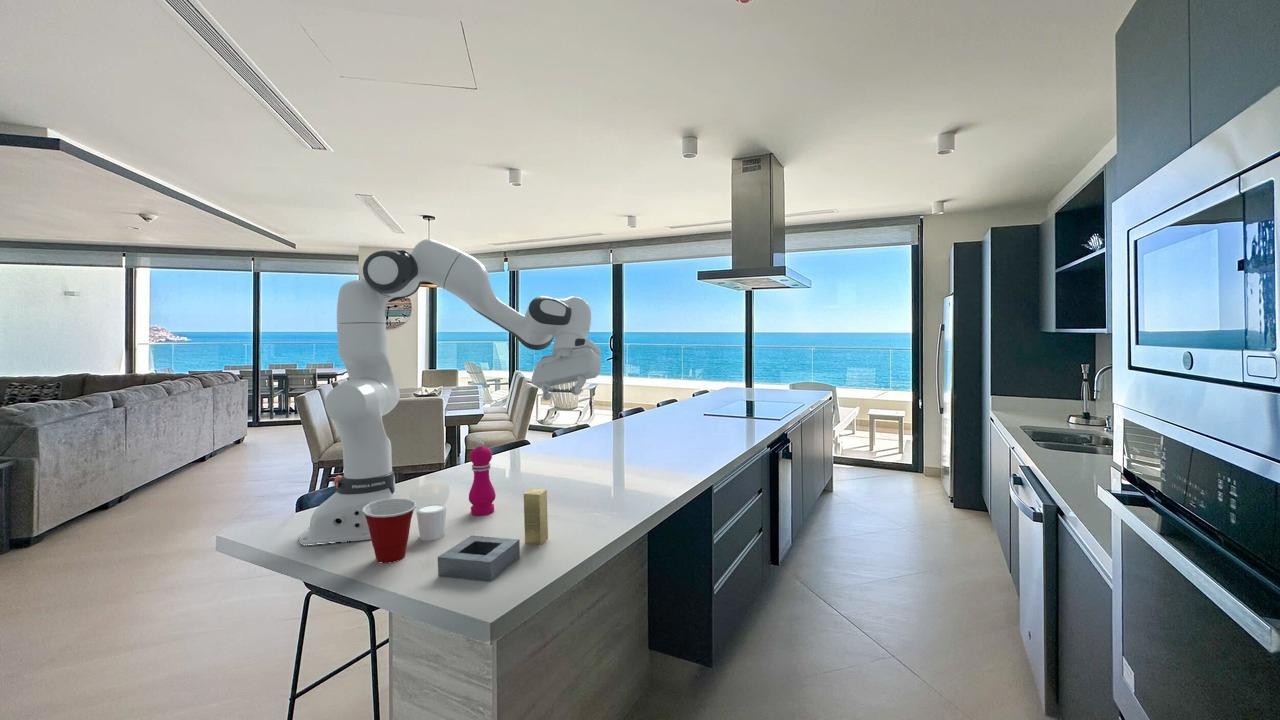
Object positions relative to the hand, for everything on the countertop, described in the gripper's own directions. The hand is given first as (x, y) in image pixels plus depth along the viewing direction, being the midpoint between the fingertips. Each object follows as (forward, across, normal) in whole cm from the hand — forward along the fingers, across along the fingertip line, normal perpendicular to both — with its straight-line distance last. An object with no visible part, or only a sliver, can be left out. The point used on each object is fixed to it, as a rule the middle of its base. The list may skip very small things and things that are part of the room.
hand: (560, 396), depth 134 cm
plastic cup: (+42, -28, -13) cm, 52 cm away
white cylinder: (+35, -30, -2) cm, 46 cm away
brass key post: (+34, -5, +7) cm, 35 cm away
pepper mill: (+25, -32, +14) cm, 43 cm away
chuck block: (+43, -7, -7) cm, 44 cm away
